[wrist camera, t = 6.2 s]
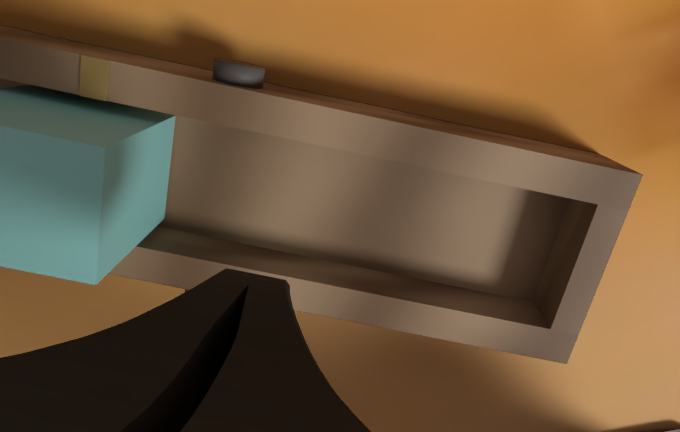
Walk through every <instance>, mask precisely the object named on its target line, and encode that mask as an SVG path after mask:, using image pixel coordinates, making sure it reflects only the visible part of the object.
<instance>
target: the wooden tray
mask: <svg viewBox="0 0 680 432" xmlns="http://www.w3.org/2000/svg"><path fill="white" fill-rule="evenodd" d="M264 75H265V68H263V67H260V66H257V65H253V64H249V63H244V62H239V61H234V60H228V59H219V58H216V59H215V61H214V69H213V71H211V70H206V69H201V68H197V67H192V66H187V65H183V64H178V63H173V62H169V61H164V60H160V59H155V58H150V57H146V56H141V55H136V54H132V53H127V52H122V51H118V50H113V49H108V48H104V47H99V46H95V45H90V44H85V43H81V42H76V41H71V40H67V39H62V38H57V37H53V36H48V35H44V34H39V33H34V32H30V31H25V30H20V29H16V28H11V27H6V26H2V25H0V89H2V88H9V87H15V86H22V85H28V84H29V85H34V86H38V87H43V88H48V89H53V90H57V91H62V92H67V93H71V94H76V95H79V96H84V97H88V98H93V99H98V100H102V101H109V102H114V103H119V104H124V105H128V106H133V107H138V108H142V109H147V110H152V111H157V112H161V113H166V114H171V115H176V117H175V127H174V136H173V145H172V154H171V163H170V172H169V181H168V190H167V199H166V209H165V218H164V219H163V220H162V221H161V222H160V223H159V224H158V225H157V226H156V227H155V228H154V229H153V230H152V231H151V232H150V233H149V234H148V235H147V236H146V237H145V238H144V239H143V240H142V241H141V242H140V243H139V244H138V245H137V246H136V247H135V248H134V249H133V250H132V251H131V252H130V253H129V254H128V255H126V256H125V257H124V258H123V259H122V260H121V261H120V262H119V263H118V264H117V265H116V266H115V267H114V268H113V269H112V270H111V271H110V272H109V273H108V274H112V275H117V276H122V277H127V278H133V279H138V280H143V281H148V282H153V283H158V284H163V285H168V286H173V287H178V288H183V289H185V292H187V291H188V290H190V289H192V288H194V287H195V286H197V285H199V284H200V283H202V282H204V281H205V280H207V279H209V278H210V277H212V276H214V275H215V274H217V273H219V272H220V271H222V270H224V269H226V268H228V269H233V270H238V271H243V272H248V273H254V274H259V275H264V276H269V277H274V278H279V279H284V280H286V281H287V282H288V284H289V285H290V296H291V301H292V305H293V309H294V310H295V311H300V312H305V313H310V314H315V315H320V316H325V317H331V318H336V319H341V320H346V321H351V322H356V323H361V324H366V325H371V326H376V327H381V328H386V329H391V330H396V331H402V332H407V333H412V334H417V335H422V336H427V337H432V338H437V339H442V340H447V341H452V342H457V343H462V344H468V345H473V346H478V347H483V348H488V349H493V350H498V351H503V352H508V353H513V354H518V355H523V356H528V357H534V358H539V359H544V360H549V361H554V362H559V363H564V364H567V362H568V359H569V357H570V354H571V352H572V349H573V347H574V345H575V342H576V340H577V337H578V335H579V332H580V330H581V327H582V325H583V322H584V320H585V317H586V315H587V312H588V310H589V307H590V305H591V302H592V300H593V297H594V295H595V292H596V290H597V287H598V285H599V282H600V280H601V278H602V275H603V273H604V270H605V268H606V265H607V263H608V260H609V258H610V255H611V253H612V250H613V248H614V245H615V243H616V240H617V238H618V235H619V233H620V230H621V228H622V225H623V223H624V220H625V218H626V215H627V213H628V210H629V208H630V206H631V203H632V201H633V198H634V196H635V193H636V191H637V188H638V186H639V183H640V181H641V178H642V176H643V175H642V174H640V173H638V172H636V171H634V170H632V169H629V168H627V167H625V166H623V165H621V164H619V163H617V162H615V161H613V160H611V159H609V158H607V157H605V156H603V155H600V154H596V153H591V152H586V151H582V150H577V149H573V148H568V147H563V146H559V145H554V144H549V143H545V142H540V141H535V140H531V139H526V138H522V137H517V136H512V135H508V134H503V133H498V132H494V131H489V130H484V129H480V128H475V127H470V126H466V125H461V124H457V123H452V122H447V121H443V120H438V119H433V118H429V117H424V116H419V115H415V114H410V113H405V112H401V111H396V110H392V109H387V108H382V107H378V106H373V105H368V104H364V103H359V102H354V101H350V100H345V99H341V98H336V97H331V96H327V95H322V94H317V93H313V92H308V91H303V90H299V89H294V88H289V87H285V86H280V85H276V84H271V83H266V82H264Z"/></svg>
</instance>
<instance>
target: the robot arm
mask: <svg viewBox="0 0 680 432" xmlns="http://www.w3.org/2000/svg"><path fill="white" fill-rule="evenodd" d="M0 432H371V431H370V430H369V429H368V428H367V427H366V426H365V425H364V424H363V423H362V422H361V421H360V420H359V419H358V418H357V417H356V416H355V415H354V414H353V413H352V411H351V410H350V409H349V408H348V407H347V406H346V405H345V403H344V402H343V401H342V400H341V399H340V398H339V396H338V395H337V394H336V393H335V391H334V390H333V389H332V387H331V386H330V384H329V383H328V381H327V380H326V378H325V377H324V375H323V373H322V372H321V370H320V368H319V367H318V365H317V363H316V361H315V360H314V358H313V356H312V354H311V352H310V350H309V348H308V346H307V344H306V341H305V339H304V337H303V335H302V332H301V329H300V327H299V324H298V321H297V319H296V316H295V313H294V309H293V305H292V301H291V296H290V285H289V284H288V282H287V281H286V280H284V279H279V278H274V277H269V276H264V275H259V274H254V273H248V272H243V271H238V270H233V269H228V268H226V269H224V270H222V271H220V272H219V273H217V274H215V275H214V276H212V277H210V278H209V279H207V280H205V281H204V282H202V283H200V284H199V285H197V286H195V287H194V288H192V289H190V290H188V291H187V292H185V293H183V294H181V295H180V296H178V297H176V298H174V299H173V300H170V301H168V302H166V303H164V304H162V305H160V306H158V307H156V308H154V309H152V310H150V311H148V312H146V313H144V314H142V315H140V316H138V317H135V318H133V319H131V320H128V321H126V322H124V323H121V324H119V325H116V326H113V327H111V328H108V329H105V330H102V331H100V332H97V333H94V334H91V335H88V336H85V337H82V338H79V339H75V340H71V341H68V342H64V343H60V344H57V345H53V346H49V347H45V348H42V349H38V350H34V351H31V352H26V353H22V354H17V355H13V356H8V357H3V358H0ZM666 432H680V429H678V430H672V431H666Z"/></svg>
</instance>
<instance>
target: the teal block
mask: <svg viewBox="0 0 680 432" xmlns="http://www.w3.org/2000/svg"><path fill="white" fill-rule="evenodd" d="M175 117H176V115H171V114H166V113H161V112H157V111H152V110H147V109H142V108H138V107H133V106H128V105H124V104H119V103H114V102H109V101H102V100H98V99H93V98H88V97H84V96H79V95H76V94H71V93H67V92H62V91H57V90H53V89H48V88H43V87H38V86H34V85H29V84H28V85H22V86H15V87H9V88H2V89H0V266H1V267H6V268H11V269H16V270H21V271H26V272H31V273H36V274H41V275H47V276H52V277H57V278H62V279H67V280H72V281H77V282H82V283H87V284H93V285H97V284H98V283H99V282H100V281H101V280H102V279H103V278H104V277H105V276H106V275H107V274H108V273H109V272H110V271H111V270H112V269H113V268H114V267H115V266H116V265H117V264H118V263H119V262H120V261H121V260H122V259H123V258H124V257H125V256H126V255H128V254H129V253H130V252H131V251H132V250H133V249H134V248H135V247H136V246H137V245H138V244H139V243H140V242H141V241H142V240H143V239H144V238H145V237H146V236H147V235H148V234H149V233H150V232H151V231H152V230H153V229H154V228H155V227H156V226H157V225H158V224H159V223H160V222H161V221H162V220H163V219H164V218H165V209H166V199H167V190H168V181H169V172H170V163H171V154H172V145H173V136H174V127H175Z"/></svg>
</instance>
